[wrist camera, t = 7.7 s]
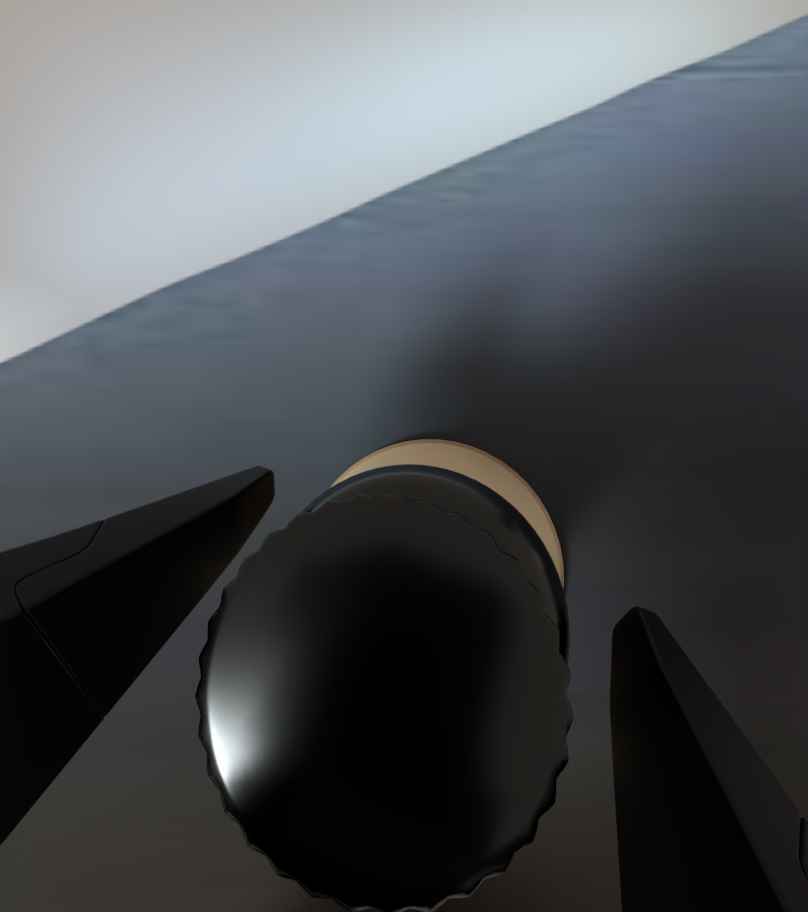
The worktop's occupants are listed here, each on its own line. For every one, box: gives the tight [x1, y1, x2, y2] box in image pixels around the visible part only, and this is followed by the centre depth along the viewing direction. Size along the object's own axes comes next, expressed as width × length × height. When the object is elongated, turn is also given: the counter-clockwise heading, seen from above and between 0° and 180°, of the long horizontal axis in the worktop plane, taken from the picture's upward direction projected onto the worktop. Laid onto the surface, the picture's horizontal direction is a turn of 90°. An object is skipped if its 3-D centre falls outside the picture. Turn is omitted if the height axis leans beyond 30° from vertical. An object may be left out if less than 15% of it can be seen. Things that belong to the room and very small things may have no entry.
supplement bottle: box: [195, 464, 574, 912], centre depth 10 cm, size 7×7×12 cm
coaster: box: [330, 439, 564, 588], centre depth 17 cm, size 12×12×1 cm
